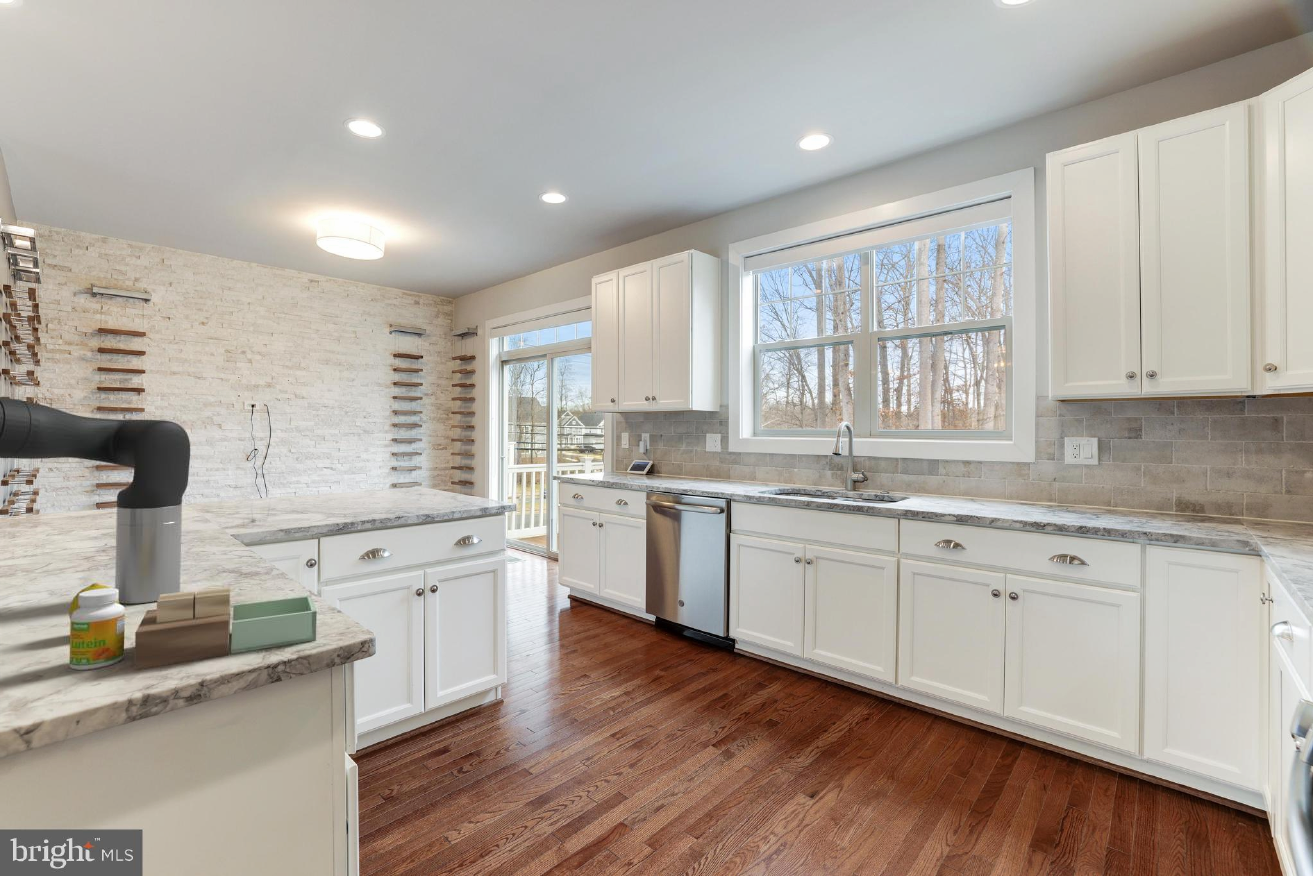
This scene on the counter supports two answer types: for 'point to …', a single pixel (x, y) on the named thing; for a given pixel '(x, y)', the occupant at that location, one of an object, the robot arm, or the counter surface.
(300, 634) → the tray
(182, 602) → the maple block
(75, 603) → the lemon
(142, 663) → the walnut block
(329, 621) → the counter surface
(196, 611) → the maple block
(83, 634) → the supplement bottle
